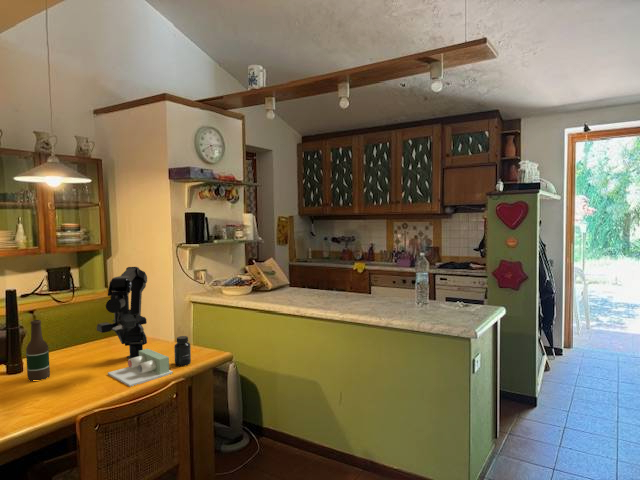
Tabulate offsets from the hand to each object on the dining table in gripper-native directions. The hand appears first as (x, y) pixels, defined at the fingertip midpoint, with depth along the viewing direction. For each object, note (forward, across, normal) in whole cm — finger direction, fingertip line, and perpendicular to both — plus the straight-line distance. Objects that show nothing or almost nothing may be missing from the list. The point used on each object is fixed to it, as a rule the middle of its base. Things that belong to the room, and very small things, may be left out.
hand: (123, 343), depth 184 cm
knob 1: (+10, +7, -3) cm, 13 cm away
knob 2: (+10, +7, -12) cm, 17 cm away
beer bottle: (+12, -26, +20) cm, 35 cm away
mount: (+12, +4, -8) cm, 15 cm away
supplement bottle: (+12, +21, -11) cm, 27 cm away
